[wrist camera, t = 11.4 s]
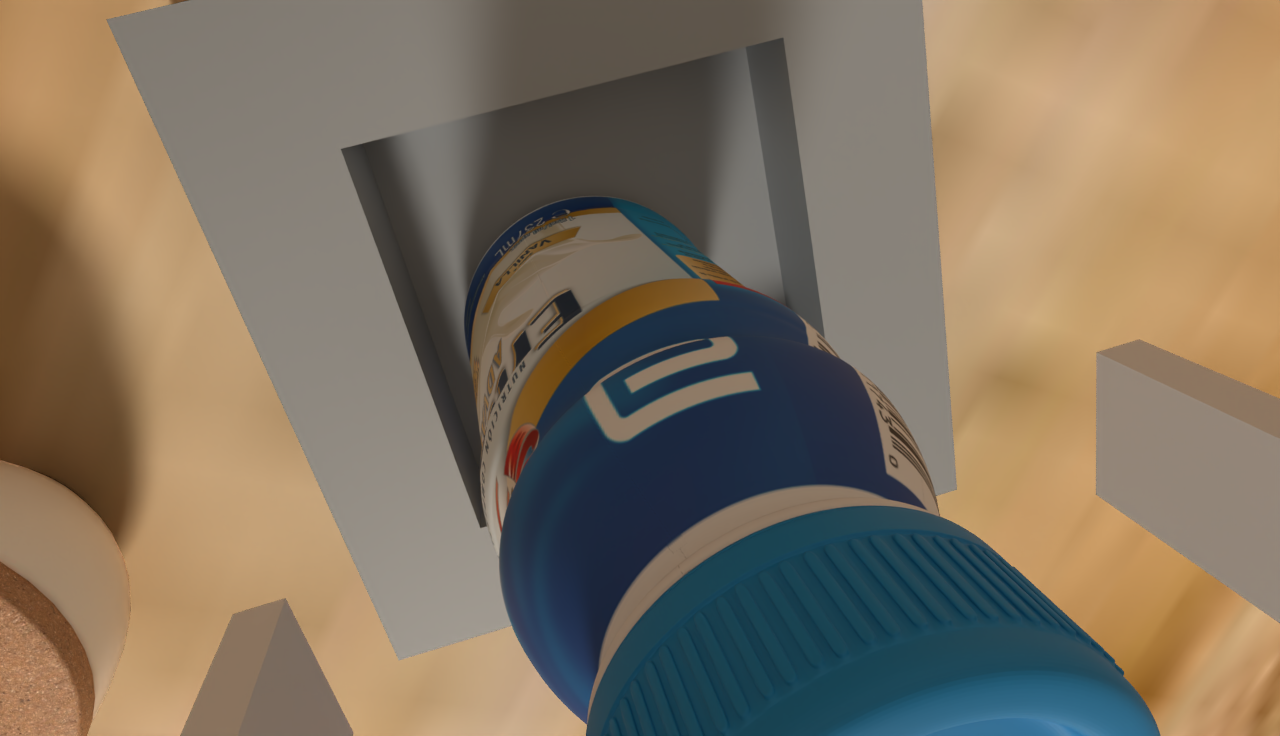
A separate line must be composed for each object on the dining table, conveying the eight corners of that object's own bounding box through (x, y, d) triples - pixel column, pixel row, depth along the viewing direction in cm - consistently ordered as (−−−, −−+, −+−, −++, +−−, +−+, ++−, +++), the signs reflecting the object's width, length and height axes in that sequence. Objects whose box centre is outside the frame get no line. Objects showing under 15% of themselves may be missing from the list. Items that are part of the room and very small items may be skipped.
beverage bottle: (688, 427, 29) (1101, 1050, 12) (452, 427, 27) (519, 1206, 9) (726, 198, 26) (1369, 567, 9) (464, 175, 24) (598, 618, 6)
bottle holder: (410, 578, 31) (398, 660, 27) (174, 24, 23) (106, 19, 19) (896, 432, 32) (956, 489, 28) (837, -132, 24) (910, -168, 20)
